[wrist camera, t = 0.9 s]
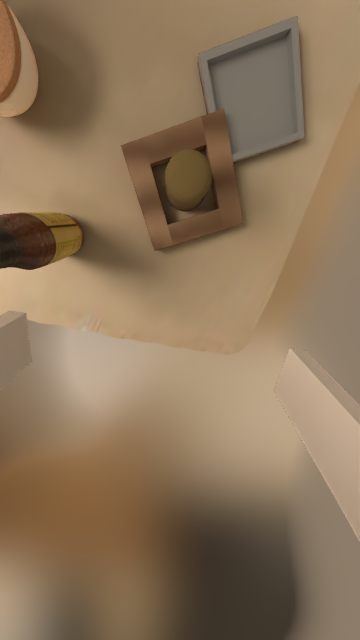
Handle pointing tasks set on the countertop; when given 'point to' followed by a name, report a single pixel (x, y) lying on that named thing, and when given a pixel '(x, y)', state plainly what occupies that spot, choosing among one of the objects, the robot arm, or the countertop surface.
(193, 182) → the olive brown bulbous peg
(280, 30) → the tray
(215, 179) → the socket block
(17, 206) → the countertop surface
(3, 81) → the lidded jar
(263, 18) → the countertop surface
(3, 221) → the sauce bottle
